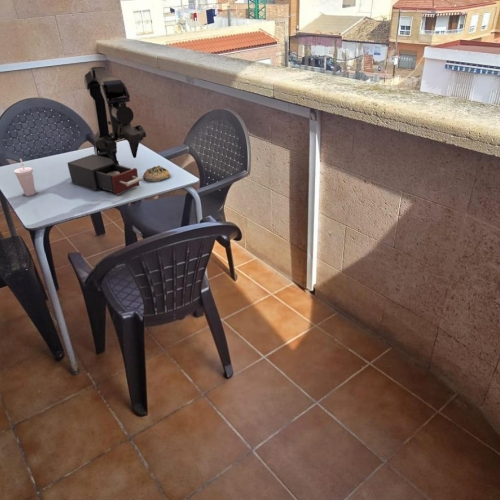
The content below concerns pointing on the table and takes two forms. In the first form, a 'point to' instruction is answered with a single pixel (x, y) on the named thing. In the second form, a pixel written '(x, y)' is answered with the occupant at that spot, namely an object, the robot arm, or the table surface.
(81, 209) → the table surface
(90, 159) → the drawer box with handle
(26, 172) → the smoothie
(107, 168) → the drawer
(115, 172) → the cylinder
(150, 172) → the bread roll
